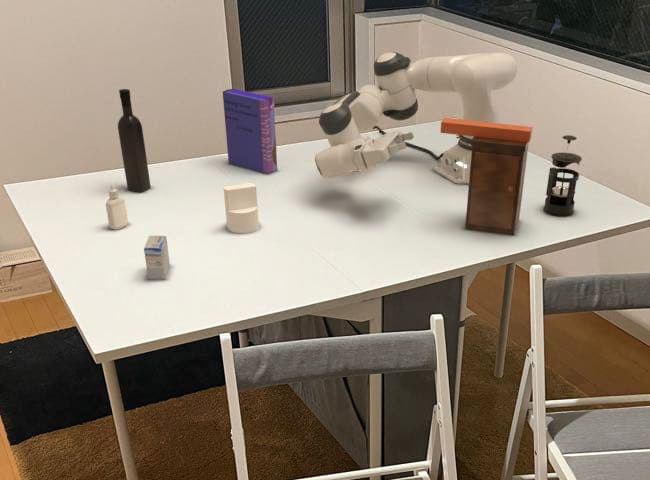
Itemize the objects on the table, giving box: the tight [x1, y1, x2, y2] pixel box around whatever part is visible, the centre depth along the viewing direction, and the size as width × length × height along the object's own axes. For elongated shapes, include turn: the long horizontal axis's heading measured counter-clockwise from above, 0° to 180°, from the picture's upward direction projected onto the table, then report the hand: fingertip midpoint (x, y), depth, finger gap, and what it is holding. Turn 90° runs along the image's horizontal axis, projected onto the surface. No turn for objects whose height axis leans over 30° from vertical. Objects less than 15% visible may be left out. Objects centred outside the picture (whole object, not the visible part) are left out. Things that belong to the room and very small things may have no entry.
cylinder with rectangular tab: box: [223, 182, 260, 234], centre depth 233 cm, size 9×9×12 cm
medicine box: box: [143, 235, 171, 281], centre depth 208 cm, size 8×4×9 cm, turn 5°
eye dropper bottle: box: [105, 184, 129, 231], centre depth 231 cm, size 4×6×12 cm
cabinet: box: [464, 137, 530, 236], centre depth 236 cm, size 15×13×26 cm
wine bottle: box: [117, 88, 152, 193], centre depth 250 cm, size 6×6×30 cm
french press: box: [542, 134, 583, 218], centre depth 248 cm, size 12×9×23 cm
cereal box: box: [222, 88, 278, 175], centre depth 272 cm, size 17×5×24 cm, turn 58°
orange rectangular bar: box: [440, 117, 533, 143], centre depth 229 cm, size 25×4×3 cm, turn 76°
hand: (409, 139), depth 236 cm, fingers open, 8 cm apart
